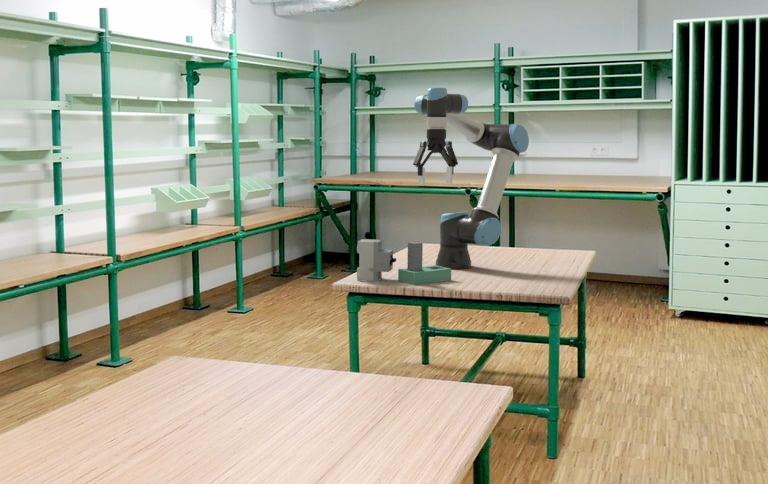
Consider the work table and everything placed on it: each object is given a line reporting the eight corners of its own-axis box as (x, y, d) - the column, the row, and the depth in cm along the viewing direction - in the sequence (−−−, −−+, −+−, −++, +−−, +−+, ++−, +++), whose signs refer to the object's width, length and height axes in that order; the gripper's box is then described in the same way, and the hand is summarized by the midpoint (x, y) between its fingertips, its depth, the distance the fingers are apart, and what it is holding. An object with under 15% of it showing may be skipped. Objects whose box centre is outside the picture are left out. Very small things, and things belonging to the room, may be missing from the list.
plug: (415, 280, 330) (416, 241, 328) (422, 282, 327) (422, 242, 325) (407, 281, 328) (407, 242, 326) (413, 283, 324) (414, 243, 322)
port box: (434, 276, 340) (434, 265, 339) (451, 280, 331) (451, 268, 331) (397, 280, 329) (397, 269, 329) (414, 284, 321) (414, 272, 320)
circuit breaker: (393, 281, 327) (393, 242, 325) (356, 280, 329) (357, 241, 328) (397, 278, 334) (397, 240, 332) (361, 277, 337) (361, 239, 335)
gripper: (455, 128, 339) (454, 182, 342) (404, 128, 325) (403, 184, 328) (467, 128, 333) (466, 183, 336) (416, 128, 319) (415, 185, 322)
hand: (435, 184), depth 332 cm, fingers open, 13 cm apart
